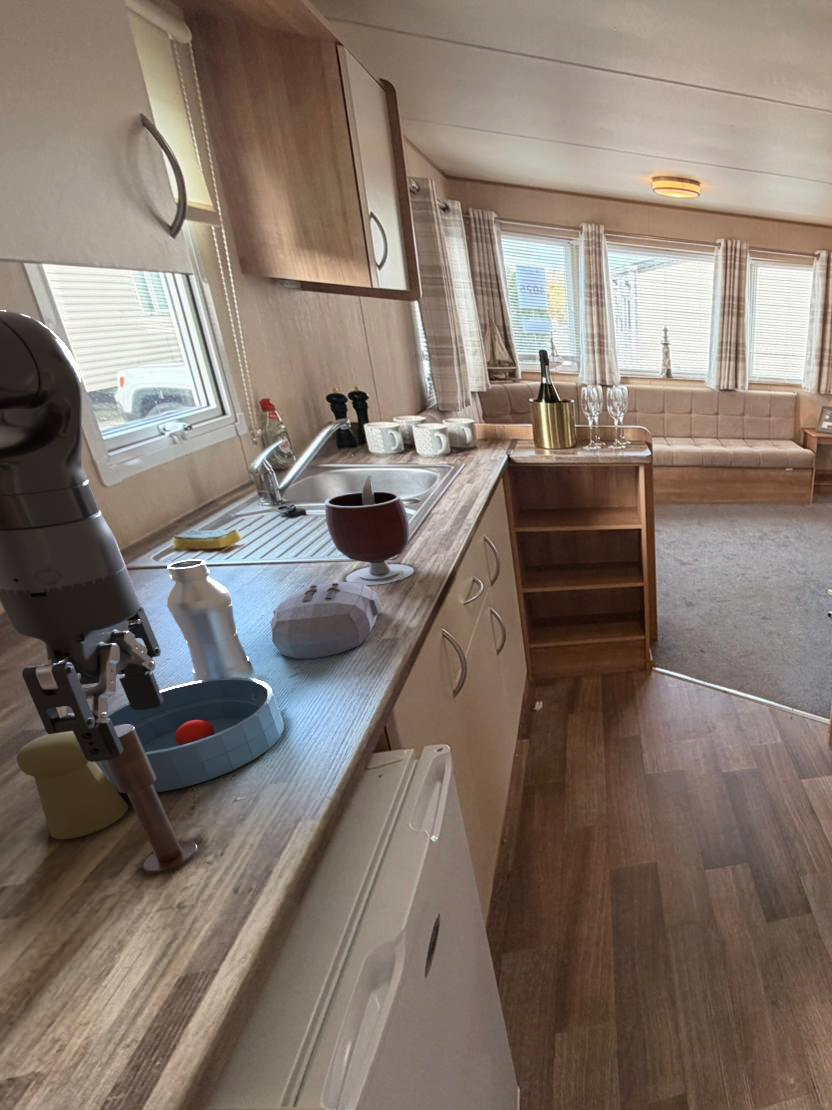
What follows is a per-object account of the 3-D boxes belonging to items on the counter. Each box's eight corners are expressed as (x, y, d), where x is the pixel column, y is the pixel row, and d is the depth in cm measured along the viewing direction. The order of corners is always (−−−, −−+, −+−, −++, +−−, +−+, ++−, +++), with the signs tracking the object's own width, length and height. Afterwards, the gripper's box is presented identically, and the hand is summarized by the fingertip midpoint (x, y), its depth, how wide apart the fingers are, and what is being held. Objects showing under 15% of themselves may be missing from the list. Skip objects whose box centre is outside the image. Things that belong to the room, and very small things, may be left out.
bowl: (71, 815, 70) (48, 771, 68) (140, 729, 84) (123, 691, 82) (265, 778, 77) (250, 737, 74) (299, 705, 91) (287, 668, 89)
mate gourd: (413, 585, 132) (393, 491, 124) (334, 592, 127) (308, 494, 119) (423, 561, 145) (406, 474, 137) (352, 566, 140) (329, 476, 132)
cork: (33, 839, 67) (-15, 753, 62) (99, 800, 72) (59, 719, 68) (83, 847, 66) (38, 761, 62) (146, 807, 71) (108, 726, 67)
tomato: (227, 736, 82) (197, 758, 80) (205, 719, 82) (176, 741, 80) (214, 727, 79) (184, 749, 77) (192, 710, 79) (161, 732, 77)
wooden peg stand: (143, 884, 62) (77, 750, 56) (150, 858, 65) (88, 728, 59) (197, 867, 64) (140, 736, 58) (201, 842, 67) (147, 715, 61)
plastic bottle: (198, 690, 93) (149, 562, 85) (256, 675, 98) (216, 552, 90) (203, 709, 89) (152, 576, 81) (264, 692, 94) (222, 565, 86)
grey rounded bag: (293, 619, 116) (259, 670, 99) (281, 576, 112) (243, 622, 96) (390, 608, 121) (373, 656, 105) (380, 568, 118) (361, 610, 101)
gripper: (47, 546, 58) (112, 699, 64) (-66, 608, 46) (28, 788, 52) (155, 540, 61) (207, 687, 67) (76, 597, 49) (148, 768, 55)
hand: (129, 731), depth 59 cm, fingers open, 8 cm apart
